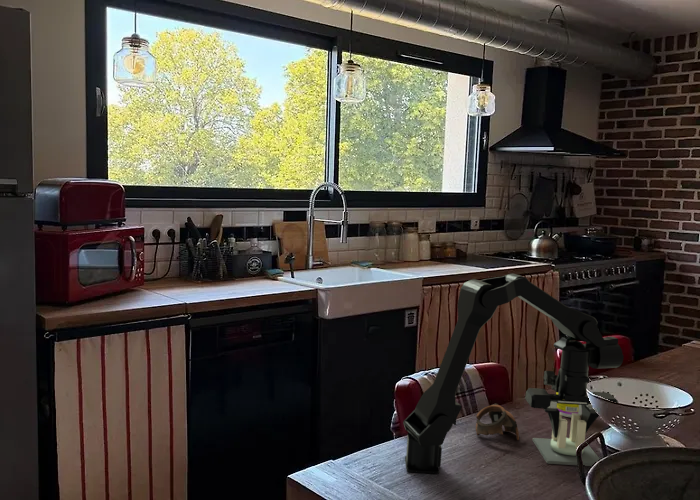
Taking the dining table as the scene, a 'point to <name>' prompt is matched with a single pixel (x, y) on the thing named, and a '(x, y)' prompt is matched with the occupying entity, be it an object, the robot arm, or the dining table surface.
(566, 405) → the supplement bottle
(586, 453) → the mat
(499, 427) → the brown curved piece
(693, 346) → the dining table surface
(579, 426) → the stool
